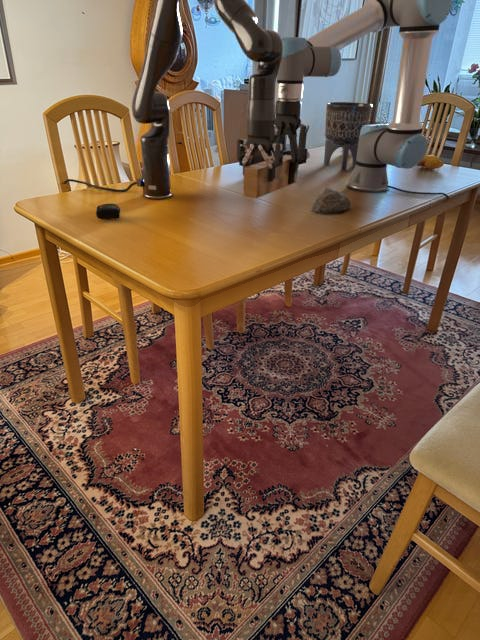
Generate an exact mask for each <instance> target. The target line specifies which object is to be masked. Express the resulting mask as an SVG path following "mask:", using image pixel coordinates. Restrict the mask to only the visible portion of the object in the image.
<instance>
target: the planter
mask: <svg viewBox="0 0 480 640" xmlns="http://www.w3.org/2000/svg"><path fill="white" fill-rule="evenodd" d="M373 107H374V106H373V104H372V103H367V102H353V101H333V102H327V103H326V109H325V124H324V125H325V126H324V139H325V144H324V156H323V157H324V158H323V165H325V166H328V165H330V163H331V158H332V156H333V154H334V153H335V151H336V150H337V149H340V148H341V149H342V152H341V166H340V170H341V172H345V171H347V167H348V166H347V165H348V159H349V154H348V152H349V150H350V151H351V153H352V155H351V157H352V158H351V159H352V160H351V161H352V166H353V167H355V165H356V158H357V150H358V142H359V136H360V131H361V128H362V127H363V126H364V125H370V121H371V116H372V112H373Z"/></svg>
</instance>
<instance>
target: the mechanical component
mask: <svg viewBox="0 0 480 640" xmlns="http://www.w3.org/2000/svg"><path fill="white" fill-rule="evenodd" d="M275 126H276V125H275ZM277 130H278V129H277V127H275V141H276V137H277V136H276V134H277ZM287 139H288V135H286V134H285V136H284V139H283V142H282V143H283V144H284V148H283V156H284V155H291V150H290V143H287ZM275 141H274V143H275ZM247 151H248V150H245V154H246V153H247ZM310 156H311V154H310V152H309V151H308V148H305V158H304V159H303V160H301V161H299V162H298V168H299V167H300V165H303V164H304V165H305V164H307V160H309V158H310ZM264 161H265V160H264V158H260V157H258V156H257V157H253V158H252V160H251V161H250V163H249V164H250V165H254V164H257V163H260V162H264ZM238 166H240V167H243V163H242V162H240V161H238Z"/></svg>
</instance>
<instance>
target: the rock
mask: <svg viewBox="0 0 480 640" xmlns="http://www.w3.org/2000/svg"><path fill="white" fill-rule="evenodd" d="M351 207H352V204H351V201H350V199H349V198H348V196H347V195H346V194H344V193H342V192H340V191H337V190H334V189H332V188H329V187H325V189H324V190H323V192H321V193H320V194H319V195H318V196H317V197H316V198H315V200H314V202H313V205H312V210H313V211H314V212H316V213H318V212H319V213H322V214H335V213H337V214H339V213H343V212H344V210H348V209H349V208H351Z"/></svg>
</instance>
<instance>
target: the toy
mask: <svg viewBox="0 0 480 640" xmlns="http://www.w3.org/2000/svg"><path fill="white" fill-rule="evenodd" d="M444 165H445V163H444V161H443V160H440V159H439V158H438V157H437V156H436V155H433V154H428V155H424V157H423V159H422V160H421V161H420V162H419V163H418V164H417V165H416V166H418V167H422V168H426V169H428V170H432V171H433V170H436V169H439V168H443V166H444Z"/></svg>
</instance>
